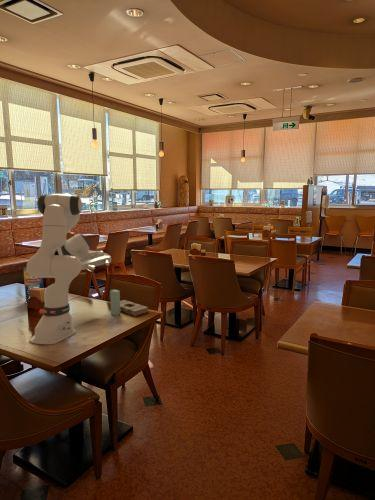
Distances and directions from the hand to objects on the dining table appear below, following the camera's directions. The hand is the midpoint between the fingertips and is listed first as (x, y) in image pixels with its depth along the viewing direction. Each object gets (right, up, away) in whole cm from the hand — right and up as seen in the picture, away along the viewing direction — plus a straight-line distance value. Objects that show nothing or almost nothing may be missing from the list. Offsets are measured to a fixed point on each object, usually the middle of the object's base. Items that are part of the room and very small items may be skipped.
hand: (101, 266), depth 210 cm
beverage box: (-48, -24, +24) cm, 59 cm away
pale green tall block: (+9, -28, -3) cm, 29 cm away
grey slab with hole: (+16, -26, +5) cm, 31 cm away
